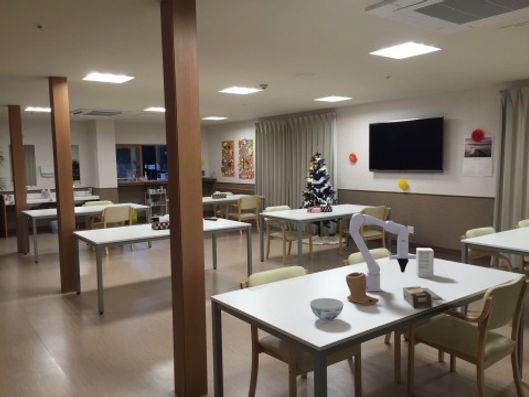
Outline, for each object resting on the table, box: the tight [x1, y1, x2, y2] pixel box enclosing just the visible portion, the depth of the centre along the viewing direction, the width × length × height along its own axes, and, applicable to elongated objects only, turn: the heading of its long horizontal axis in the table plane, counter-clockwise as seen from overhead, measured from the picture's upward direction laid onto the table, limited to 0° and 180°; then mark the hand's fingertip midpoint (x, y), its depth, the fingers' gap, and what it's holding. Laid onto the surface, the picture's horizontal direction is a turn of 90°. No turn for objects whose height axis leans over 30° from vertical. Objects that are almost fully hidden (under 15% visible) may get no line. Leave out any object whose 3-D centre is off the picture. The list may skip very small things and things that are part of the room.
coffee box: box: [402, 285, 433, 309], centre depth 217 cm, size 9×6×16 cm
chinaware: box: [309, 297, 345, 323], centre depth 196 cm, size 15×15×8 cm
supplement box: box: [415, 247, 435, 278], centre depth 271 cm, size 10×9×17 cm
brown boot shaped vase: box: [345, 272, 380, 306], centre depth 220 cm, size 15×12×15 cm
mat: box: [422, 287, 443, 301], centre depth 233 cm, size 11×20×1 cm, turn 1°
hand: (402, 272), depth 240 cm, fingers closed
